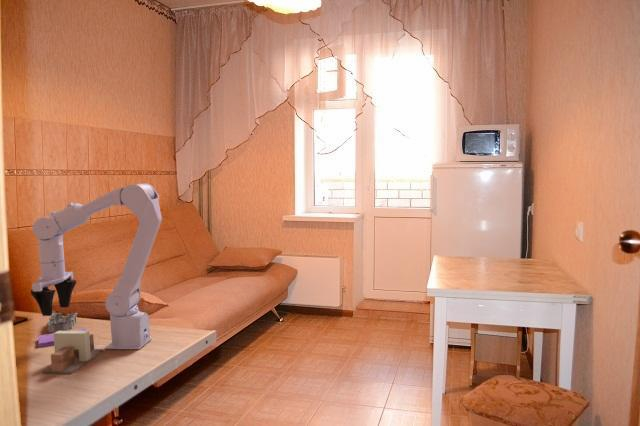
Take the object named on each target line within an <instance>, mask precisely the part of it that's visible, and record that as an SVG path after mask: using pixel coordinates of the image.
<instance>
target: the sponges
mask: <svg viewBox="0 0 640 426" xmlns="http://www.w3.org/2000/svg"><path fill="white" fill-rule="evenodd" d="M74 331H88V328H87V327H86V328H79V329H76V330H74ZM37 346H38V347H39V348H44V347H50V346H54V334H53V333H48V334H41V335H38V343H37ZM38 347H37V348H38Z"/></svg>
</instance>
